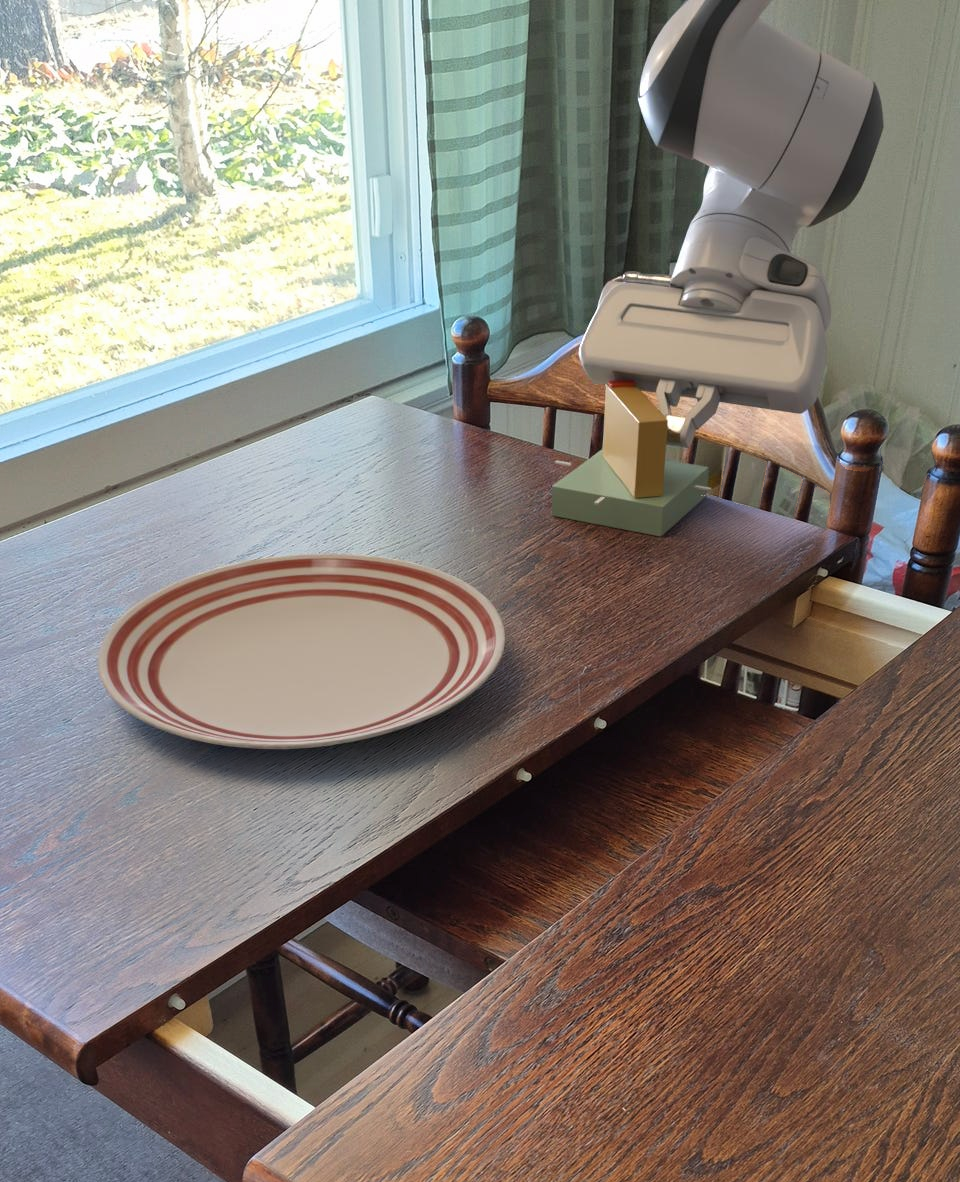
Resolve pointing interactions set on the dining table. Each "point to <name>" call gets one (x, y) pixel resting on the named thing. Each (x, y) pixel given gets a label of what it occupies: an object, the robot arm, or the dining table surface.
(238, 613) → the dinner plate
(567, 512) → the green base slab
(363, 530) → the dining table surface
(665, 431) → the tan box
